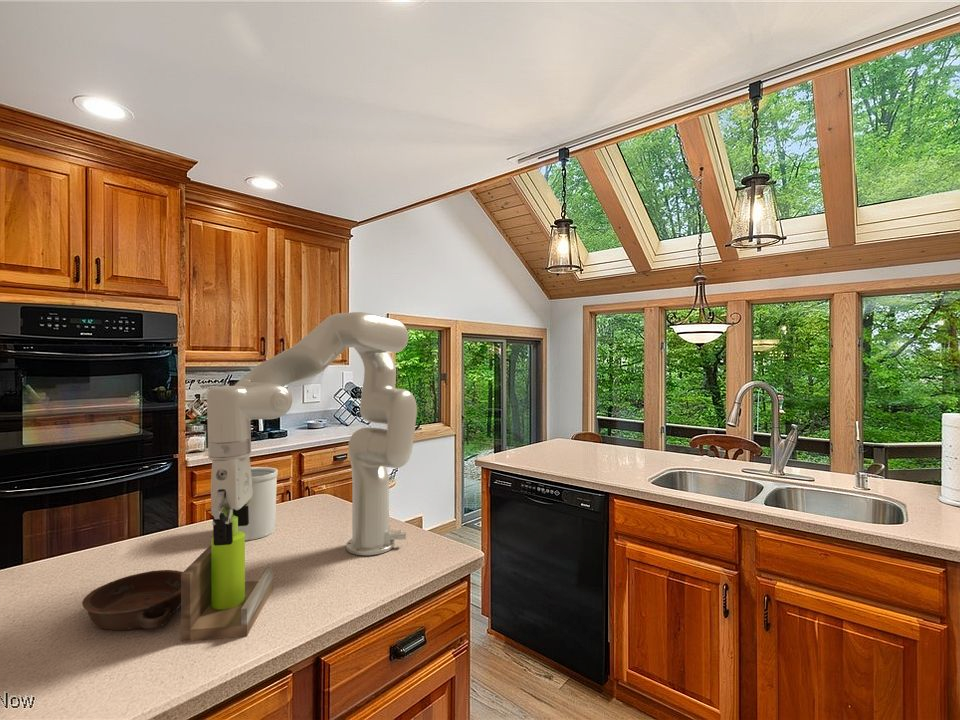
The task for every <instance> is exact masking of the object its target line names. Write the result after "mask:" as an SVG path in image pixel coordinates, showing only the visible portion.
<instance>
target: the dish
mask: <svg viewBox="0 0 960 720" xmlns="http://www.w3.org/2000/svg"><path fill="white" fill-rule="evenodd" d="M183 572H184V571H182V570H181V571H180V570H173V569H162V570H161V569H160V570H151V571H145V572H141V573H136V574H132V575H128V576H125V577H120V578H118V579H116V580H113V581H110V582H108V583H106V584H103V585H101V586H99V587H96V588H94V589H93V590H92V591H90V592H89V593H88V594H87V595H86V596H85V597H84V598H83V600H82V602H81V603H82V607H83V608H84V610H86V611H87V614H88V616H89V619H90V621H91V623H93V624H94V626H96V627H97V628H99V629H100V628H101V629H104V630H105V629H106V630H110V631H111V630H112V631H124V630H134V629H139V628H144V629H148V630H149V629H150V630H151V629H158V628H160V627H162V626H164V625H165V624H167V622H168V621H170V619H171V615H172V613H174V612H176V610H177V609H178V608H179V607H181V574H182V573H183Z"/></svg>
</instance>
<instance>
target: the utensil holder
mask: <svg viewBox="0 0 960 720" xmlns="http://www.w3.org/2000/svg"><path fill="white" fill-rule="evenodd" d="M278 472H279V470H278V469H277V468H275V467H270V466H269V467H268V466H251V475H252V489H253V495H252V497H251V498H250V500H251V501H250V502H249V503H248V505H246V506H248V509H249V524H248V525H247V526H238V531H241V532H244V533H245V542H246V541H251V540H252V541H253V540H257V539H261V538H265V537H267V536H270V535H272V533H274V531H275V530H276V516H277V515H276V514H277V487H278V486H277V484H278V482H277V481H278V480H277V477H278V475H279V473H278ZM222 513H224V512H222Z"/></svg>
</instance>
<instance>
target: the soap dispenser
mask: <svg viewBox="0 0 960 720" xmlns="http://www.w3.org/2000/svg"><path fill="white" fill-rule="evenodd" d="M250 501H251V500H249V501H248V502H247V503H249V502H250ZM222 507H229V506H222ZM224 514H225V516H226V515H227V512H224ZM230 523H232V530H233V542H232V544H230V545H217V546H215V545H214V538H213V536H212V537H211V543H210V545H211V606H212V608H214V609H218V610H224V609H230V608H233V607H236V606H238V605H240V604H241V603H243V602H244V600H245V582H246V560H245V559H246V541H245V533H244V532H241V531H238V517H237V516H235V515H233V511H232V515H231V520H230Z"/></svg>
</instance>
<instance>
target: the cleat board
mask: <svg viewBox="0 0 960 720" xmlns="http://www.w3.org/2000/svg"><path fill="white" fill-rule="evenodd" d="M182 572H183V573H182V574H181V604H180V642H190V641H203V640H212V639H213V640H215V639H226V638H238V637H239V638H240V637H241V638H242V637H247V636H248V635H249V634H250V631H251V630H252V627H253V626H254V624H255V622H256V620H257V619H258V617H259V615H260V613H261V611H262V610H263V607H264V606H265V604H266V602H267V600H268V598H269V597H270V595H271V593H272V591H273V590H274V566H272V565H271V566H267V567H266V569H265V571H264V573H263V574H262V576H261V577H260V579H259V580H255V581H254V580H253V581H245V600H244V602H243V603H241V604H240V605H238V606H236V607H233V608H230V609H224V610H218V609H214V608H212V606H211V544H210V545H209V546H208V547H207V548H206V549H205V550H204V551H203V552H202V553H201V554H200V555H199V556H198V557H197V558H195V560H194V561H192V563H191V564H189V566H188V567H187V568H186V569H185V570H184V571H182Z"/></svg>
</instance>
